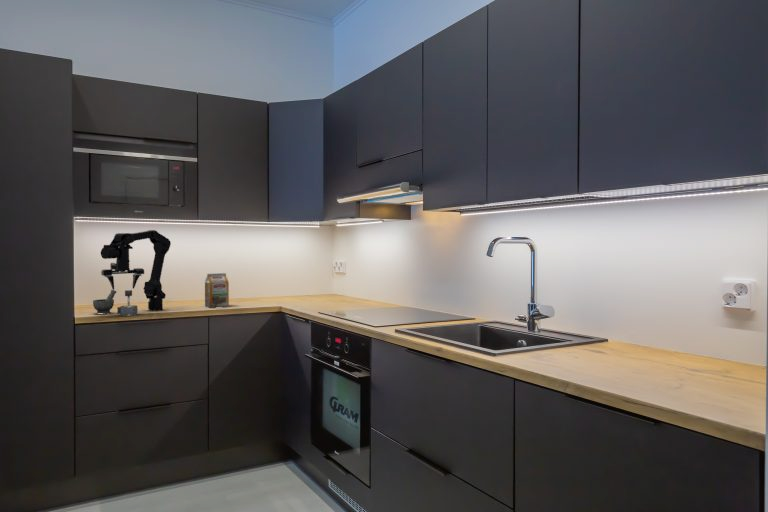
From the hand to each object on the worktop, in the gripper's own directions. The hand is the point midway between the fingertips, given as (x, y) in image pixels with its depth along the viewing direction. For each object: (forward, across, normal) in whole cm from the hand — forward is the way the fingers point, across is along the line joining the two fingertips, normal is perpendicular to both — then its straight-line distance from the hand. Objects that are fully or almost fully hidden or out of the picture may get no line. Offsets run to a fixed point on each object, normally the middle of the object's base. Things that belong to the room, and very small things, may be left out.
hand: (123, 289), depth 261 cm
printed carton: (+14, -50, -4) cm, 52 cm away
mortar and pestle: (+13, +6, -11) cm, 19 cm away
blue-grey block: (+13, -2, +2) cm, 13 cm away
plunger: (+9, -2, +2) cm, 10 cm away
